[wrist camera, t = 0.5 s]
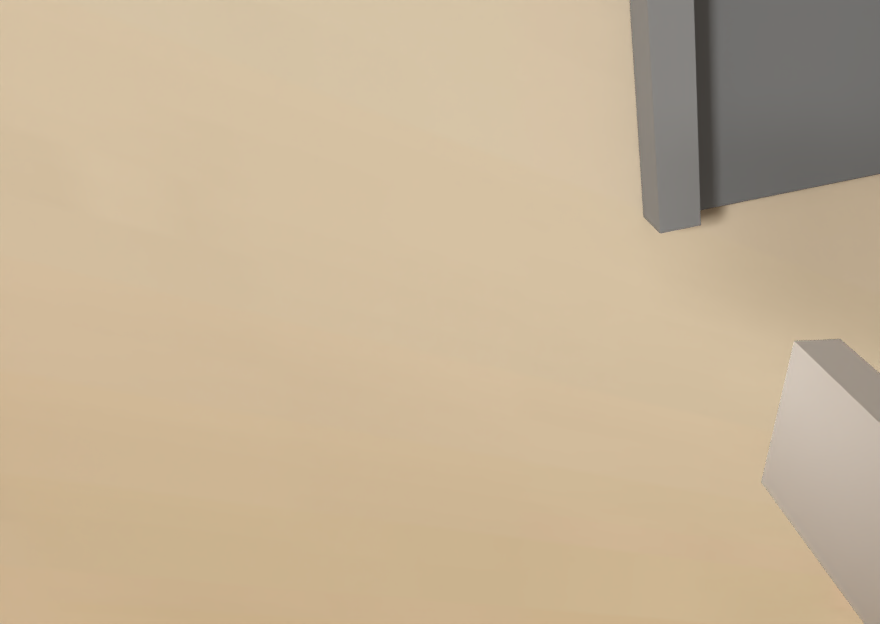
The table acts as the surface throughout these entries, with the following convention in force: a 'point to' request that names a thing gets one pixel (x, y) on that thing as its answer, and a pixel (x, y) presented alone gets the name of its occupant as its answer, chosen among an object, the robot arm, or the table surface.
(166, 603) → the table surface
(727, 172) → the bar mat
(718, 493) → the table surface
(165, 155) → the table surface
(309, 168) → the table surface
